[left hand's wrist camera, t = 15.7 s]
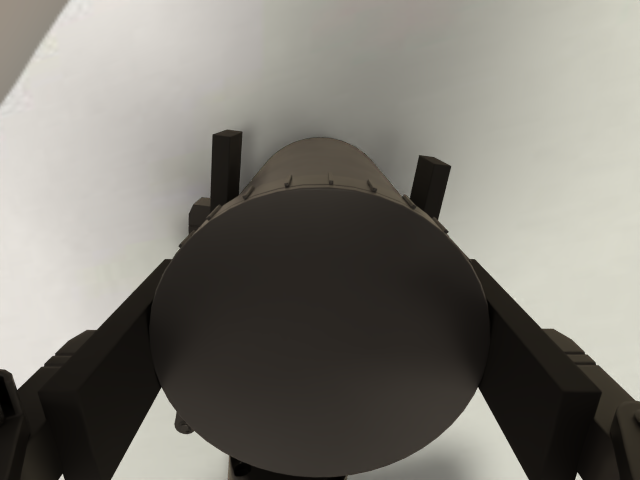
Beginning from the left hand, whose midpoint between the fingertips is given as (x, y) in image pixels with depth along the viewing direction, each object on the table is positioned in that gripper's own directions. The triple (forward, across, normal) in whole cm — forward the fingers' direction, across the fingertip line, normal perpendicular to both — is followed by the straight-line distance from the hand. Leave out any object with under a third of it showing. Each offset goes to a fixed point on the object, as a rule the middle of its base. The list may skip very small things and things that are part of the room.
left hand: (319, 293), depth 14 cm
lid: (-3, 0, 0) cm, 3 cm away
